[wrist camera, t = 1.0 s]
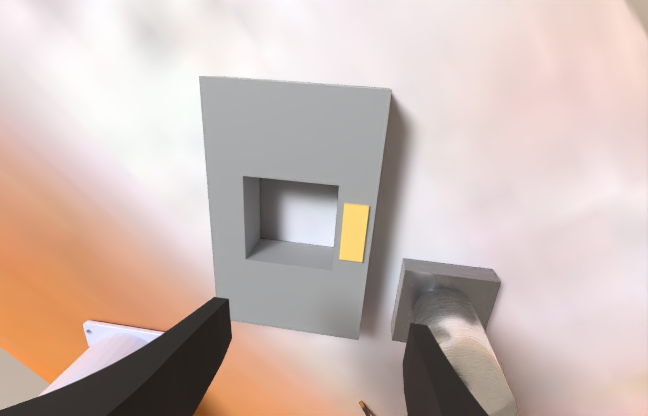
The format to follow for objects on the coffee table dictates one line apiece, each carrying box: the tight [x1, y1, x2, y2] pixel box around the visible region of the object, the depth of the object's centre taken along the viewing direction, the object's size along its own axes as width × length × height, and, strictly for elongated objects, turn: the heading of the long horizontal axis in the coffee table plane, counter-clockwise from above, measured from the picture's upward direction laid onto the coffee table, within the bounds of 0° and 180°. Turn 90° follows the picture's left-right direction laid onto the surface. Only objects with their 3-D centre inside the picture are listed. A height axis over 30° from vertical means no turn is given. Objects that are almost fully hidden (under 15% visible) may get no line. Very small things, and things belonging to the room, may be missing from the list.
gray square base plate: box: [391, 258, 501, 343], centre depth 23 cm, size 6×6×2 cm
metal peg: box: [413, 289, 517, 416], centre depth 19 cm, size 4×4×7 cm
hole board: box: [199, 76, 392, 340], centre depth 21 cm, size 16×10×3 cm, turn 176°
